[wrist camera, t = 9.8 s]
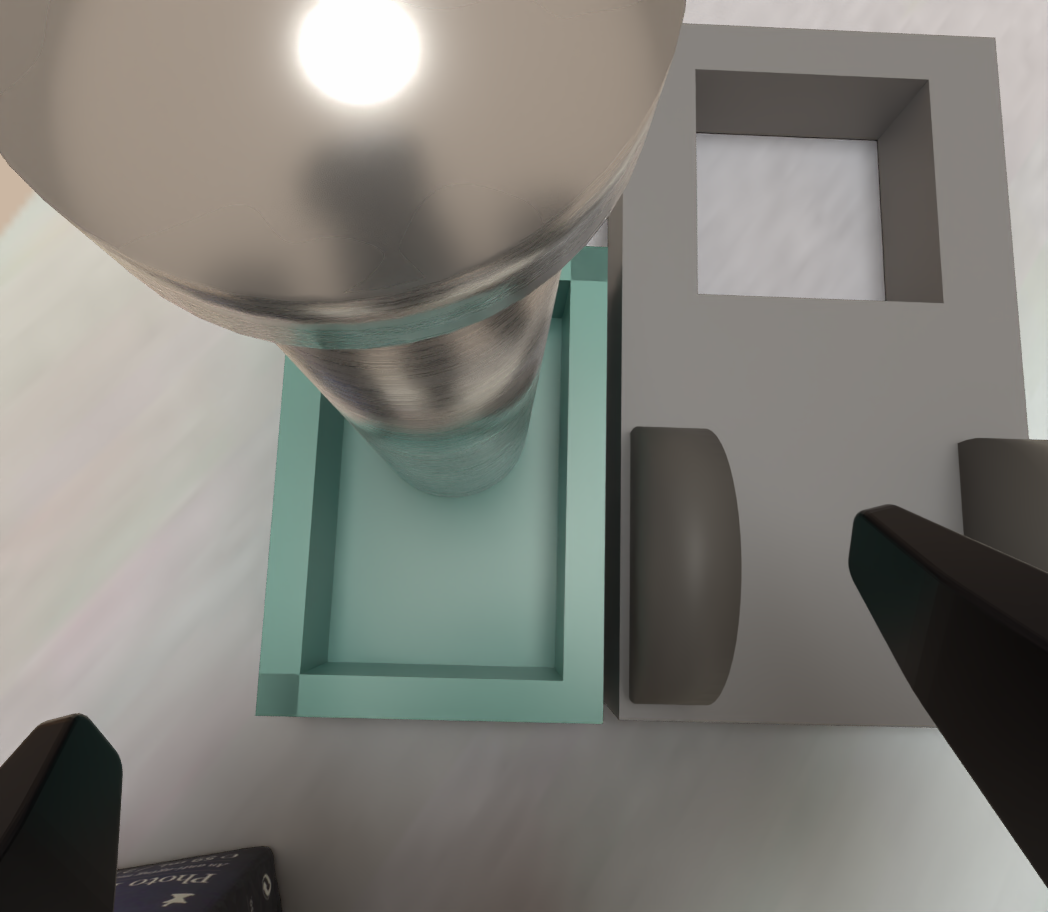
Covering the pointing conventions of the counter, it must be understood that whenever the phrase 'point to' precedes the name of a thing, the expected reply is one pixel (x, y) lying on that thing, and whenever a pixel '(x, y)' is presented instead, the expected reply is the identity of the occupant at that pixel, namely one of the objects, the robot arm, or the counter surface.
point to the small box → (202, 884)
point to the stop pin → (349, 182)
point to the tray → (446, 557)
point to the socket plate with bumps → (806, 386)
